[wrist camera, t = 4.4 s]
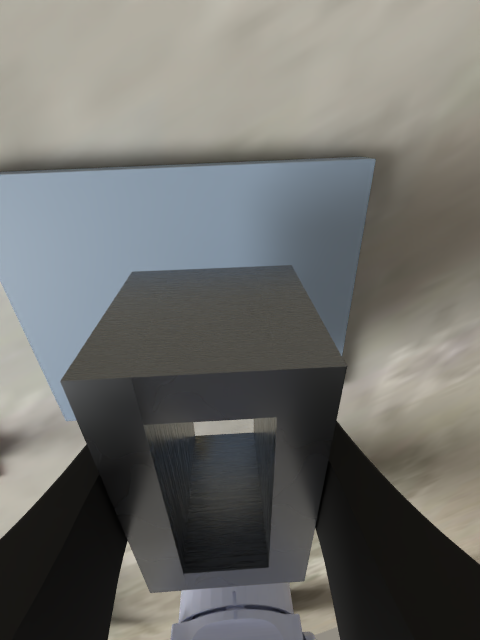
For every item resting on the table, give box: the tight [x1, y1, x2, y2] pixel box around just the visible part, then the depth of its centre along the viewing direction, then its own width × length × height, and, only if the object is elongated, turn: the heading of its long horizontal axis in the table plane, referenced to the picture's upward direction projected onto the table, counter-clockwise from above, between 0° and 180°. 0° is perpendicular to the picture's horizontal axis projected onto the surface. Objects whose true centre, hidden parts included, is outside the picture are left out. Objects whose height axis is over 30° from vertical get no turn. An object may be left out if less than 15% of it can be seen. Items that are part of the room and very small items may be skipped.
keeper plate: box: [0, 157, 376, 421], centre depth 17 cm, size 14×17×2 cm
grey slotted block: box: [60, 265, 347, 593], centre depth 10 cm, size 9×5×5 cm, turn 1°
